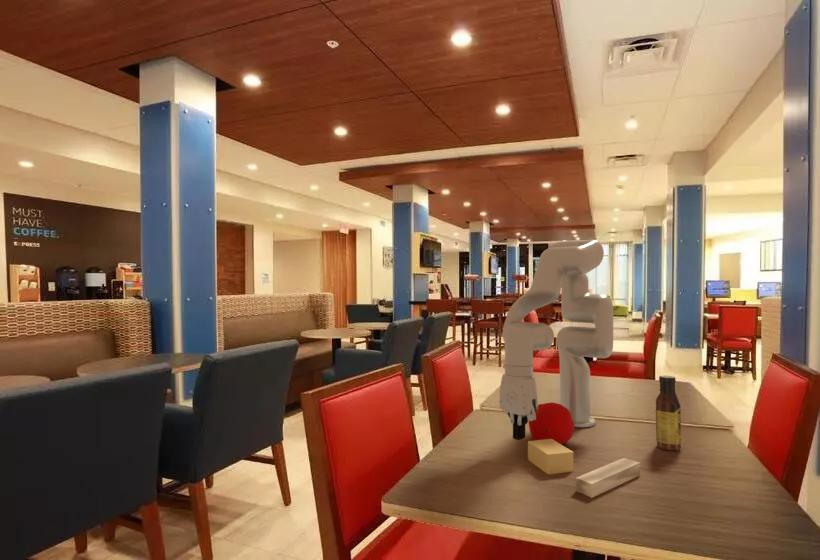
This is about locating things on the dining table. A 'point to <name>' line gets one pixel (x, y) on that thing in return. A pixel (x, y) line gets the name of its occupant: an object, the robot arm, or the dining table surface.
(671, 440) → the sauce bottle
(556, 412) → the tomato
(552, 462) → the block
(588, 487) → the pale grey bar
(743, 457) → the dining table surface
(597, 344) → the robot arm
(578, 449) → the dining table surface
